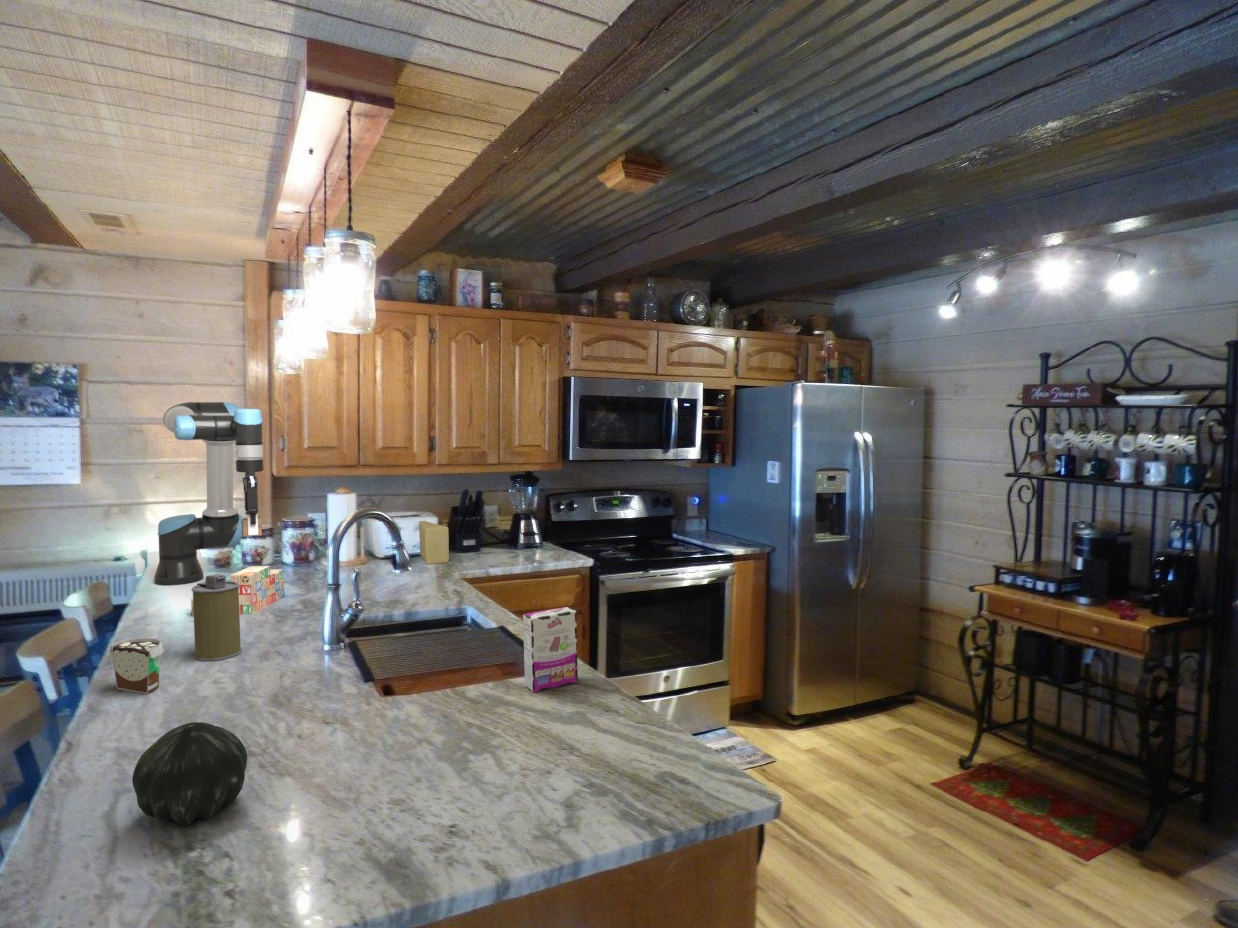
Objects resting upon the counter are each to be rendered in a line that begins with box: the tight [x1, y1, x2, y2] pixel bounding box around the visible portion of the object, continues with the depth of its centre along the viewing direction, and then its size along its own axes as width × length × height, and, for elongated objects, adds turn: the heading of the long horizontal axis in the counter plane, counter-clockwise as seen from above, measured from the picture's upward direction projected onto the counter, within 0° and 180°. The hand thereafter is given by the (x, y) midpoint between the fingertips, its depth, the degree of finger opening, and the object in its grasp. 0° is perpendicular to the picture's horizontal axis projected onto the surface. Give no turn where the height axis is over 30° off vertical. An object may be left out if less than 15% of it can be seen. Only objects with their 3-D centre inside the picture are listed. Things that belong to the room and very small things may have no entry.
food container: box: [109, 637, 165, 695], centre depth 160 cm, size 12×6×10 cm, turn 71°
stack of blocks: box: [230, 565, 286, 615], centre depth 229 cm, size 21×6×12 cm, turn 0°
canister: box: [190, 573, 243, 662], centre depth 181 cm, size 11×10×20 cm
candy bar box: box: [522, 606, 579, 693], centre depth 161 cm, size 11×5×16 cm, turn 122°
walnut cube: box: [242, 516, 263, 537], centre depth 226 cm, size 5×5×5 cm
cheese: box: [418, 520, 450, 565], centre depth 302 cm, size 22×10×15 cm, turn 32°
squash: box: [131, 721, 248, 826], centre depth 110 cm, size 14×15×15 cm
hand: (252, 533), depth 226 cm, fingers closed on walnut cube, 5 cm apart
